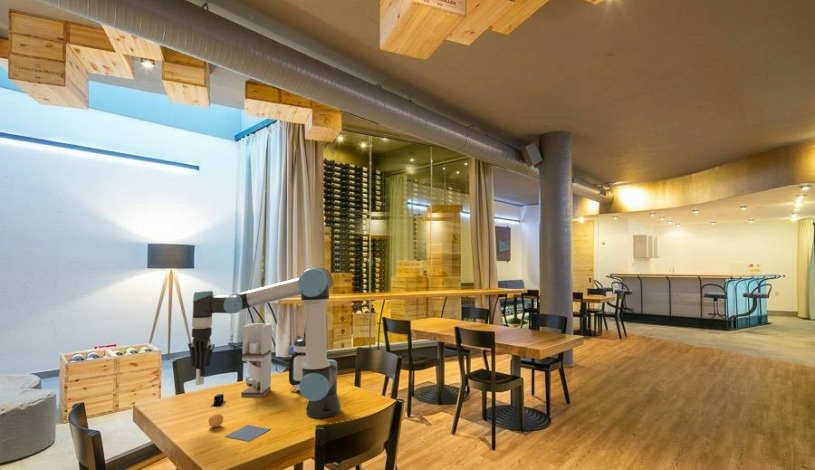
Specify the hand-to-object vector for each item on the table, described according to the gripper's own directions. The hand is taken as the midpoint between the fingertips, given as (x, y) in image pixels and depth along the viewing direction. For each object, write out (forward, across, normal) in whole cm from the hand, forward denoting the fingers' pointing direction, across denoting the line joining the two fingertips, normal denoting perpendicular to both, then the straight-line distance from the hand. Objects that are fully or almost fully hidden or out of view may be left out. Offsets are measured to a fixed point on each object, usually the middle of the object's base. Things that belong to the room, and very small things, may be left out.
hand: (199, 384), depth 168 cm
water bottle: (+16, +2, -70) cm, 72 cm away
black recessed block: (+17, +12, -22) cm, 30 cm away
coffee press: (+16, -15, -53) cm, 57 cm away
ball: (+13, -10, 0) cm, 16 cm away
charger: (+17, +21, -56) cm, 62 cm away
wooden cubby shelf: (+16, +6, -41) cm, 45 cm away
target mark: (+16, -27, 0) cm, 31 cm away
